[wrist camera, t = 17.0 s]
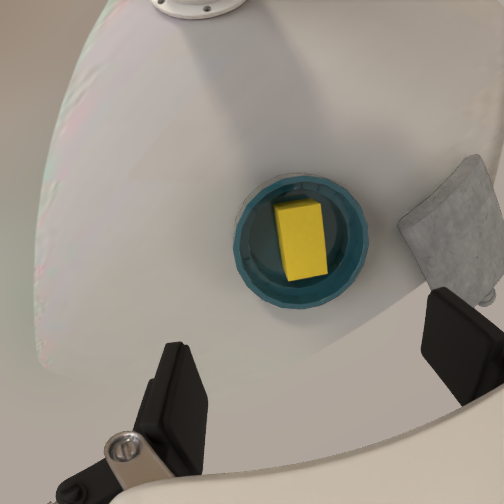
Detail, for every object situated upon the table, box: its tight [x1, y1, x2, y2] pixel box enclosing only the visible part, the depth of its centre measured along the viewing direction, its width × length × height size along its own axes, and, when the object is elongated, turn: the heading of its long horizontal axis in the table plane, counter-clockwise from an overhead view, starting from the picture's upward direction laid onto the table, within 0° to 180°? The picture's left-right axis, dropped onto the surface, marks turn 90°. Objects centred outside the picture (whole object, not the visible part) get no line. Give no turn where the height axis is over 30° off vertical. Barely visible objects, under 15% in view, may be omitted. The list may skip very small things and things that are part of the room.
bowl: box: [233, 173, 369, 309], centre depth 30 cm, size 13×13×4 cm
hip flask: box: [398, 155, 504, 308], centre depth 32 cm, size 16×4×20 cm
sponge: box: [273, 198, 328, 281], centre depth 29 cm, size 7×4×4 cm, turn 10°
